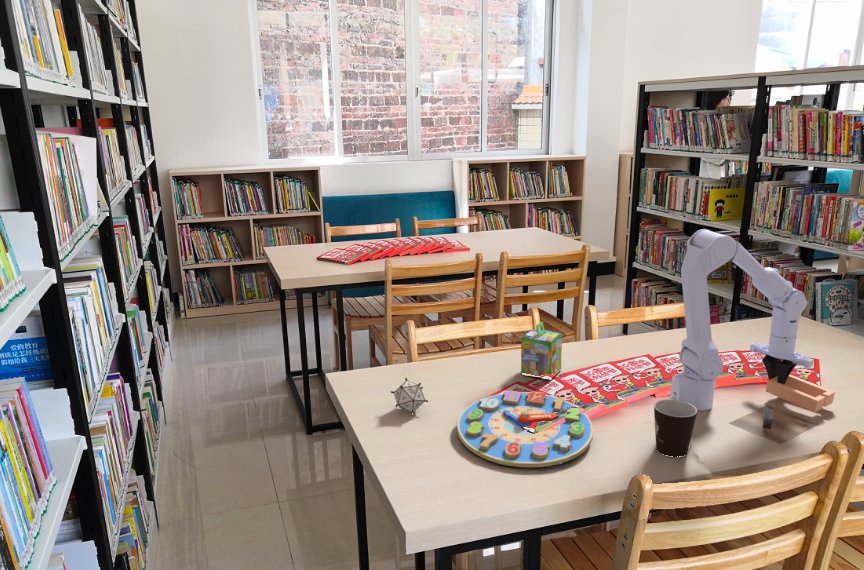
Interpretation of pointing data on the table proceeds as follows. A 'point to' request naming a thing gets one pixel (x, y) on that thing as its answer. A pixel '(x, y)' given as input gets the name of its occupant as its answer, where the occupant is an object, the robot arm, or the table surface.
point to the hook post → (768, 417)
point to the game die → (409, 396)
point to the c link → (801, 393)
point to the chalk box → (541, 352)
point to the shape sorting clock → (510, 445)
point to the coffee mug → (673, 426)
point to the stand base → (774, 425)
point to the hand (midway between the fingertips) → (776, 386)
